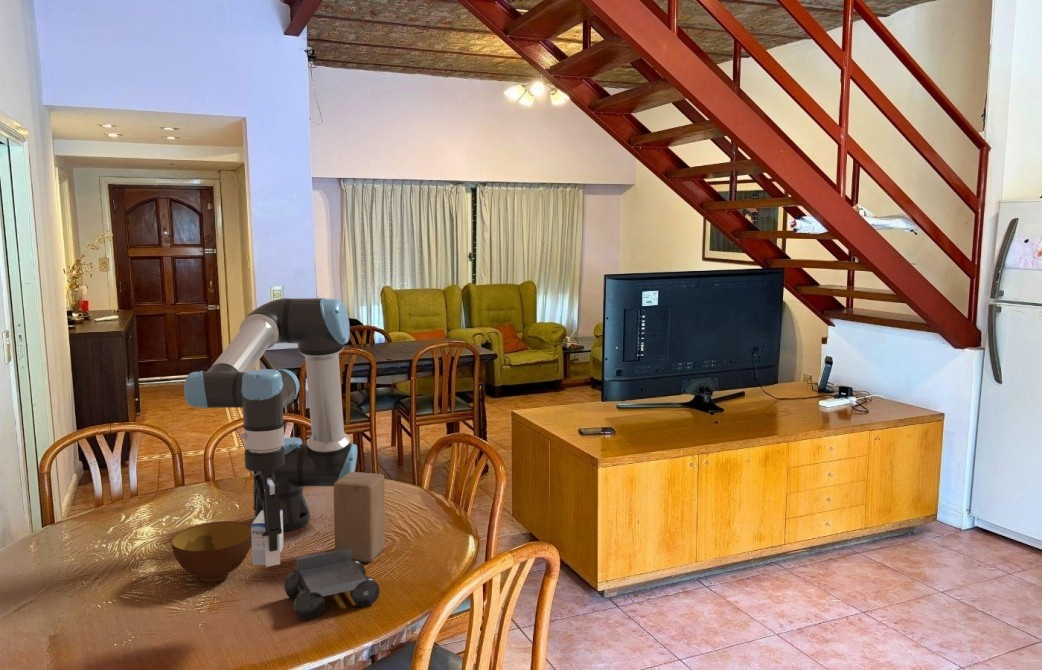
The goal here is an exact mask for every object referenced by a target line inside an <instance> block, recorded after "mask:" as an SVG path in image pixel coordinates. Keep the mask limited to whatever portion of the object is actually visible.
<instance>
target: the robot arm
mask: <svg viewBox="0 0 1042 670" xmlns="http://www.w3.org/2000/svg"><path fill="white" fill-rule="evenodd" d="M350 326H351V325H350V319H349V314H348V311H347V308H346V307H345V305H344V303H343V302H342V301H341V300H339V299H335V298H334V299H333V298H326V297H323V298H319V297H318V298H316V297H314V298H311V297H310V298H288V297H285V298H279V299H274V300H271V301H268V302H266V303H263V304H262V305H260V306H259V307H257V308H255V309H254V310H252V311H250V313H248V314H247V315H246V316H245V317H244V319H243V320H242V321H241V322H240V325H239V331H238V333H237V334H236V336H234V337H233V339H232V340H231V341H230V343H229V344H227V346H226V348H225V349H224V350H223V351H222V353H221V354H220V355H219V356H218V358H217V359H216V360H215V362H213V364H212V365H211V366H210V367H209V368H208V370H207V371H203V370H200V371H193V372H190V373H189V374H188V375H187V376H186V378H185V381H184V389H183V393H184V394H183V395H184V399H185V402H186V403H187V405H188V406H190V407H192V408H201V409H203V408H205V409H220V408H221V409H225V408H226V409H227V408H229V409H230V408H231V409H232V408H233V409H234V408H236V409H237V408H241V409H242V417H243V418H242V419H243V431H244V433H242V434H240V439H244V440H243V441H244V443H243V444H244V448H245V450H244V466H245V469H246V470H248V471H249V472H250V471H251V472H253V507H252V509H253V511H254V515H253V521H254V520H255V519H256V517H257V516H258V514H259V513H260V512H261V510H263V513H264V522H265V531H266V532H265V533H262V537H264V540H265V565H264V566H265V567H266V568H269V567H273V566H279V565H281V553H280V540H279V534H281V533H282V529H281V519H280V510H282V511H283V532H286V531H288V532H289V531H293V530H297V529H299V528H300V529H301V528H302V527H304V526H306V525H307V524H309V523H310V521H311V510H310V508H309V505H308V502H307V499H306V497H305V495H304V487H306V488H309V487H327V488H328V487H334V483H335V482H336V481H338V480H339V479H340V478H342V477H343V476H345V475H346V474H347V473H349V472H356V471H355V470H356V466H357V459H358V446H357V444H355V443H351V438H350V435H349V434H347V433H346V432H345V428H344V427H345V426H344V415H343V414H344V413H343V399H342V385H341V383H342V382H341V370H340V369H341V367H340V355H339V354H340V353H341V352H342V351H343V350H344V349H345V344H348V343H349V341H350V334H351V333H350V331H351V330H350ZM276 344H297V349H298V353H299V354H301V356H303V357H304V359H305V369H306V370H305V372H306V381H307V393H308V394H307V395H308V405H309V406H308V407H309V416H310V417H309V418H310V427H311V428H310V429H311V436H310V437H309V438H308V440H306V441H307V442H306V443H304V444H303V440H302V439H301V438H299V437H294V436H293V437H292V436H291V437H285V424H284V408H285V407H286V406H287V405H290V404H291V403H292V402H293V401H294V400H295V398H296V397H297V396H298V393H299V391H300V386H301V385H300V380H299V379H298V377H297V375H296V374H295V373H294V372H292V370H289V369H285V368H278V369H270V368H269V369H268V368H266V369H265V368H262V369H254V368H255V366H256V365H257V364H258V362H259V361H260V359H261V358H262V357H263V355H264V354H265V352H266V351H267V350H269V349H271V348H273V347H274V346H275V345H276ZM253 369H254V370H253Z"/></svg>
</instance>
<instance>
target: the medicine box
mask: <svg viewBox="0 0 1042 670" xmlns="http://www.w3.org/2000/svg"><path fill="white" fill-rule="evenodd" d="M280 519H281V529H282V533H281V534H279V540H280V554H281V553H282V550H283V549H284V531H283V511H282V510H280ZM250 527H251V537H252V544H251V559H252V560H251V561H252V563H251V564H252V565H253V566H265V540H264V537H262V533H265V532H266V531H265V522H264V513H263V510H261V512H260V513H259V514H258V516H257V517H256V519H255V520H254V519H253V521H252V523H251V525H250Z"/></svg>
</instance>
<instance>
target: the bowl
mask: <svg viewBox="0 0 1042 670" xmlns="http://www.w3.org/2000/svg"><path fill="white" fill-rule="evenodd" d="M251 548H252V537H251V525H249V524H247V523H245V522H244V523H243V522H240V521H230V520H229V521H228V520H227V521H226V520H223V521H212V522H205V523H201V524H196V525H193V526H191V527H187V528H185V529H183V530H181V531H179V532H177V533H176V534H174V536H173V537H172V538H171V550H172V552H173V555H174V557H175V559H176V562H178V564H179V566H181V568H182V569H183V570H185V571H186V573H188V574H190V575H192V576H193V577H194V576H195V577H197V578H200V580H201V581H203V582H206V583H207V582H208V583H209V582H210V583H211V582H213V583H214V582H220V581H221V580H224V579H226V578H228V576H229V574H230V573H231V572H233V571H235V570H236V569H237V568H238V567H240V565H241V564H242V563H243V561H245V560H244V559H246V557H247V555H248V553H249V551H250V549H251Z"/></svg>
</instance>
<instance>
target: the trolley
mask: <svg viewBox="0 0 1042 670" xmlns="http://www.w3.org/2000/svg"><path fill="white" fill-rule="evenodd" d="M366 572H367V571H366V568H365V566H364V564H363V563H362V562H360V561H358V560H356V559H352V556H351V548H350V547H349V548H344V549H339V550H335V549H334V550H331V551H330V550H329V551H324V552H318V553H314V554H309V555H303V556H299V557H296V570H294V571H291V572H290V573H289V574H288V575H286V577H285V579H284V580H283V589H284V592H285V594H286V596H287V597H289V599H291V600H293V610H294V611H295V614H296V615H297V616H298V618H300V619H301V620H303V621H311V620H314V619H316V618H318V617H319V616H320V615H321V614H322V612H324V608H325V602H326V601H325V598H324V597H327V596H331V595H335V594H340V593H345V592H349V595H350V597H351V599H352V601H353V602H354V604H355V605H356V606H357V607H360V608H364V607H365V608H366V607H369V606H372V605H373V604H374V603H375V602H376V601H377V600H378V598H379V595H380V592H381V591H380V590H381V589H380V586H379V584H378V583H377V581H376V580H375V578H373V577H371V576H367V575H366V574H367V573H366ZM310 619H311V620H310Z"/></svg>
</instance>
